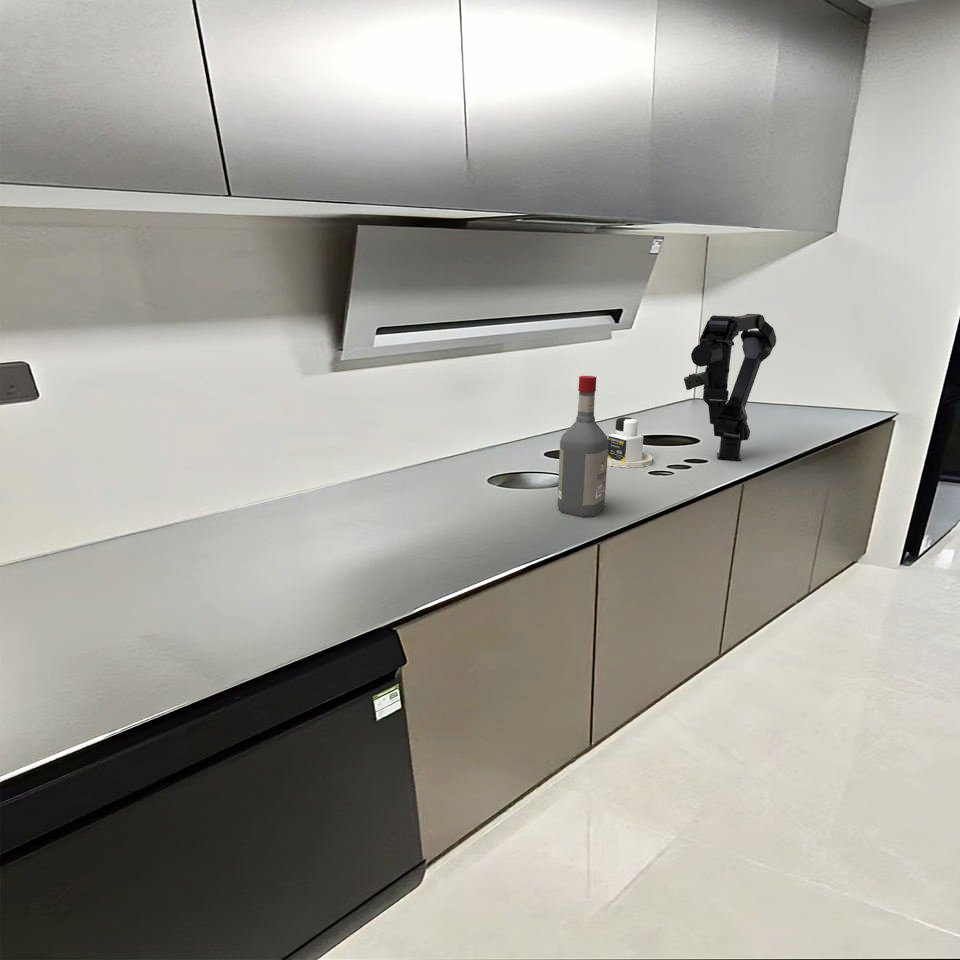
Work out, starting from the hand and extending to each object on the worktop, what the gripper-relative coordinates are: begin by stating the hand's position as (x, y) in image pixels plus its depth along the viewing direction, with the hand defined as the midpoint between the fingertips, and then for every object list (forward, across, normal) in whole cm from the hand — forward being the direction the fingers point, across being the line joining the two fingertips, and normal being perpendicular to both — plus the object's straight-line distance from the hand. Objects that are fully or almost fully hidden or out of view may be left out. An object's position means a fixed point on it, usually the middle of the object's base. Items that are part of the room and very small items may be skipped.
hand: (712, 420), depth 183 cm
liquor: (+13, +49, -27) cm, 58 cm away
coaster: (+13, +2, -23) cm, 26 cm away
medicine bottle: (+13, +2, -23) cm, 26 cm away
